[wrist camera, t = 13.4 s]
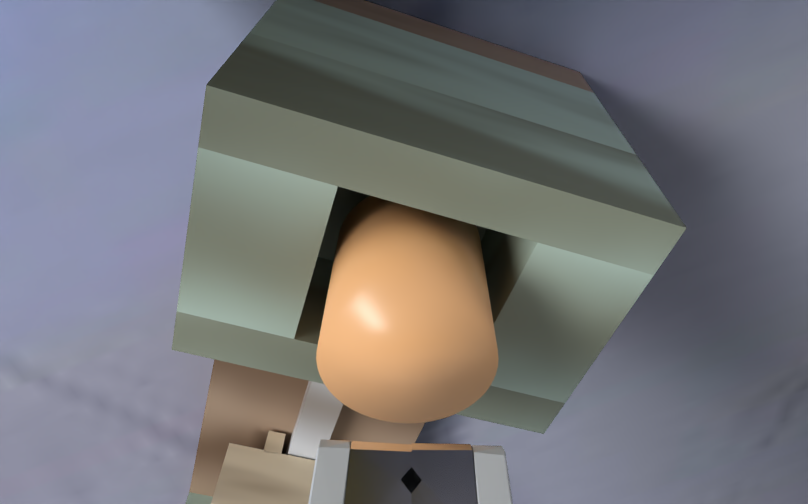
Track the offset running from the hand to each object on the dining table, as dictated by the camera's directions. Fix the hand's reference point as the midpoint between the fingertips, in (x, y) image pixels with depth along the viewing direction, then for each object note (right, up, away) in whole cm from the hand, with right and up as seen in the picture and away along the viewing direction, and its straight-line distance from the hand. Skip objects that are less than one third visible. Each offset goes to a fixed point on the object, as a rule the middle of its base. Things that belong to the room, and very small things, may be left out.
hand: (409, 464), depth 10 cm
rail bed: (-4, -2, +19) cm, 20 cm away
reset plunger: (0, +4, +5) cm, 6 cm away
